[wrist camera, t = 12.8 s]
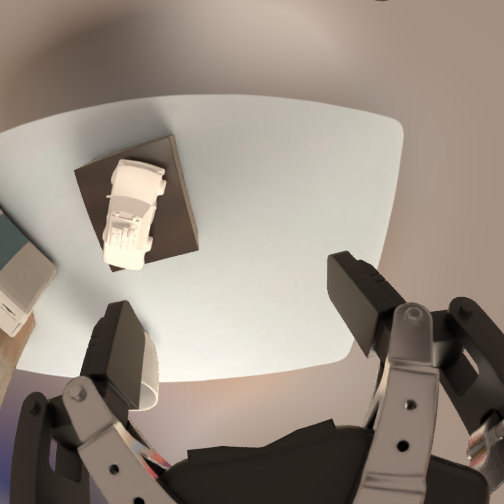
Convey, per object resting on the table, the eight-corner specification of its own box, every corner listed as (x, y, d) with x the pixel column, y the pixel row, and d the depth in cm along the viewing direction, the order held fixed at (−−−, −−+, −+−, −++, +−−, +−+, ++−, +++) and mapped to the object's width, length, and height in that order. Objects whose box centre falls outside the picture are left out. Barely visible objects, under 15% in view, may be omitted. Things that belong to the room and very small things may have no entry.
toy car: (171, 165, 27) (164, 178, 22) (149, 259, 32) (141, 291, 26) (121, 154, 26) (101, 164, 20) (105, 249, 30) (88, 279, 24)
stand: (91, 161, 30) (73, 170, 25) (173, 134, 31) (169, 137, 26) (121, 251, 37) (112, 272, 32) (197, 231, 38) (198, 250, 33)
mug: (167, 368, 50) (167, 422, 39) (117, 367, 48) (110, 418, 37) (156, 314, 43) (151, 375, 32) (98, 314, 41) (80, 371, 30)
